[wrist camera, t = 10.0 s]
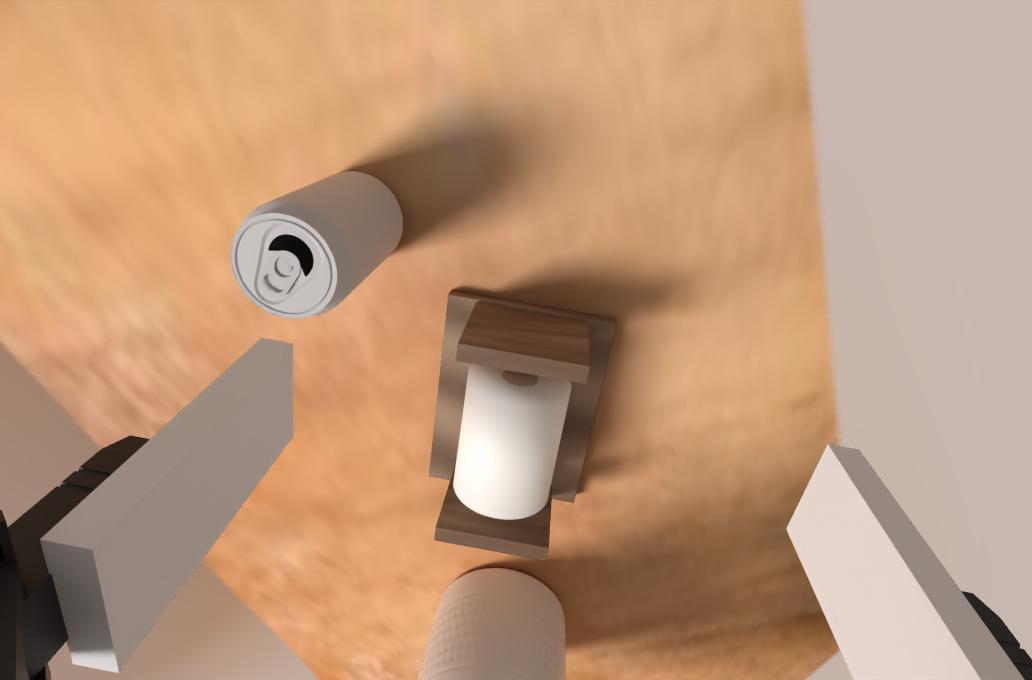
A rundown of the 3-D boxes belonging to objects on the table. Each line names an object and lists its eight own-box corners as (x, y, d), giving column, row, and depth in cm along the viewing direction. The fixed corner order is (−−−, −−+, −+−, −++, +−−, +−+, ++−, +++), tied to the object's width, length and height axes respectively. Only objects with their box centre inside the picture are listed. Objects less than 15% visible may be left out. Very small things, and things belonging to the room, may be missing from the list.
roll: (477, 347, 43) (459, 390, 37) (572, 364, 43) (571, 410, 36) (462, 453, 47) (443, 509, 40) (550, 470, 46) (545, 529, 40)
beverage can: (423, 209, 40) (367, 259, 29) (375, 278, 43) (306, 348, 32) (345, 149, 39) (255, 177, 28) (300, 224, 42) (201, 277, 31)
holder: (451, 289, 43) (425, 334, 35) (616, 318, 42) (624, 369, 35) (431, 468, 49) (406, 537, 42) (573, 494, 49) (573, 568, 42)
